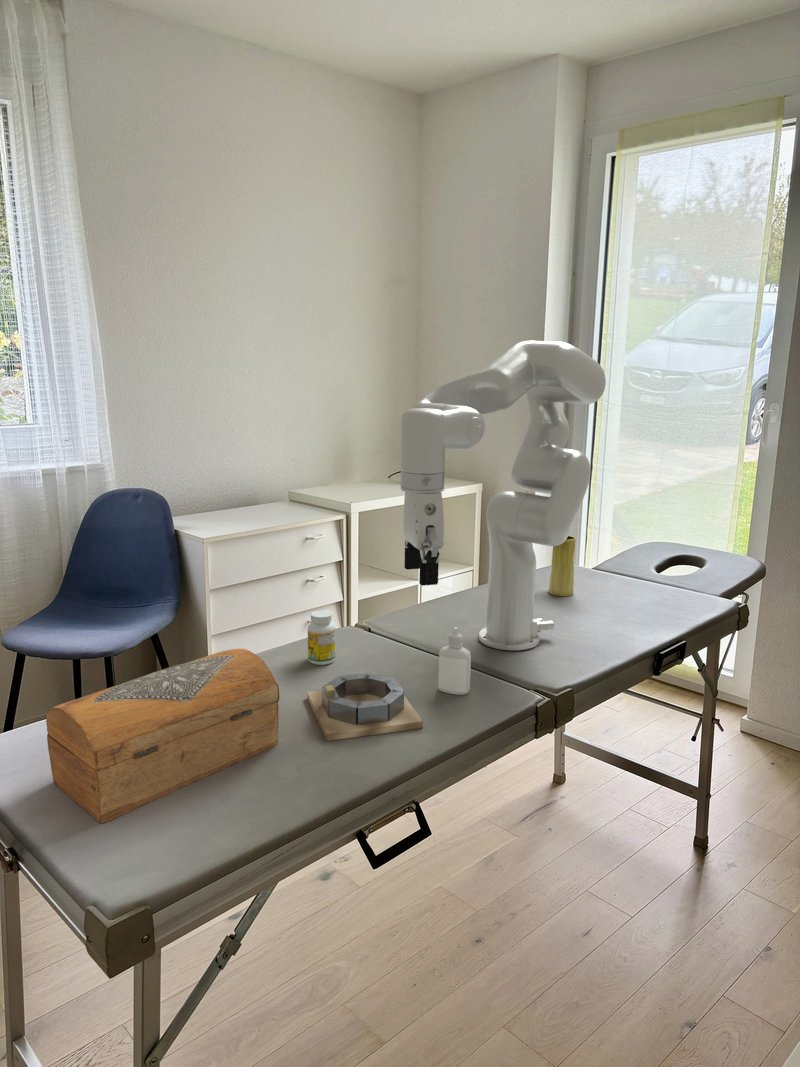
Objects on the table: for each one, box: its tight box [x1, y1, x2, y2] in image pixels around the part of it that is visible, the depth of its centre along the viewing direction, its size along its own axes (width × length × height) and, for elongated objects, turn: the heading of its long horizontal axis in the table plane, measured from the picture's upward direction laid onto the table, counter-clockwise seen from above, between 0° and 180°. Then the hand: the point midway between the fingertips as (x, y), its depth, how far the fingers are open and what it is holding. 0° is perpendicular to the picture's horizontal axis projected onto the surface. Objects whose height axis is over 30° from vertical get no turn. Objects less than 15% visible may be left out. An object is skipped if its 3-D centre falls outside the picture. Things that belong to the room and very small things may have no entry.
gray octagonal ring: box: [321, 672, 405, 725], centre depth 138 cm, size 13×13×4 cm
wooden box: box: [45, 648, 280, 824], centre depth 121 cm, size 30×16×14 cm, turn 136°
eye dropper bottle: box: [437, 626, 472, 696], centre depth 146 cm, size 4×6×12 cm
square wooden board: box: [306, 689, 424, 742], centre depth 139 cm, size 16×16×1 cm
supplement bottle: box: [307, 610, 337, 666], centre depth 159 cm, size 5×5×10 cm
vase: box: [548, 534, 576, 597], centre depth 202 cm, size 6×6×14 cm
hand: (420, 576), depth 145 cm, fingers open, 9 cm apart
